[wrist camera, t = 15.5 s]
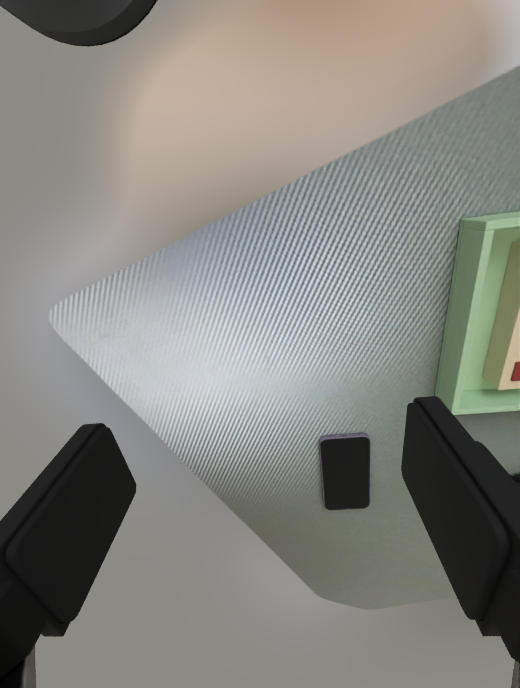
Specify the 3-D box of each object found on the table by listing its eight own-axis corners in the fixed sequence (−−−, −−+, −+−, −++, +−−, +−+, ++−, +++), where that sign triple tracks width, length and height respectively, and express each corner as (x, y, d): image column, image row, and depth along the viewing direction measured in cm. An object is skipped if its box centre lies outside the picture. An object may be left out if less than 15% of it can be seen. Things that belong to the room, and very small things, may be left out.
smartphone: (371, 435, 41) (370, 508, 47) (368, 430, 42) (368, 502, 48) (318, 439, 42) (324, 510, 48) (317, 434, 43) (323, 504, 49)
